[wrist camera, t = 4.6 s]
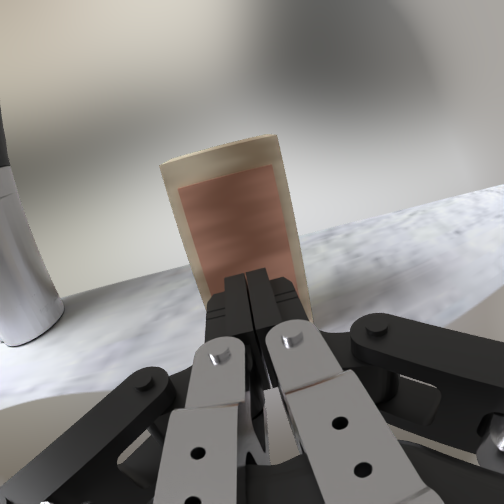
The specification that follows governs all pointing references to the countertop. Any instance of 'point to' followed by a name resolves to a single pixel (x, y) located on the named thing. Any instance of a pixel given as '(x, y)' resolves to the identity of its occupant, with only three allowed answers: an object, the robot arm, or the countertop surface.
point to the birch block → (236, 214)
